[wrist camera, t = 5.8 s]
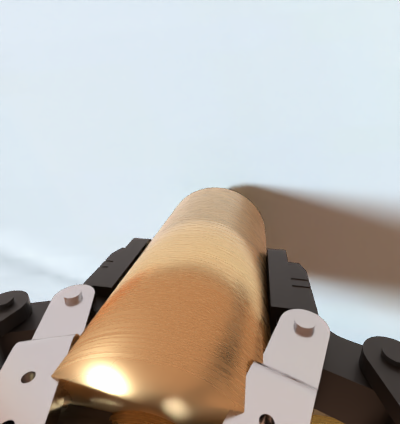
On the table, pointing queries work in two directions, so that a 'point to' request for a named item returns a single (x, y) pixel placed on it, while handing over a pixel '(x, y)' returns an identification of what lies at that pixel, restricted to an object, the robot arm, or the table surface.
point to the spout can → (179, 320)
